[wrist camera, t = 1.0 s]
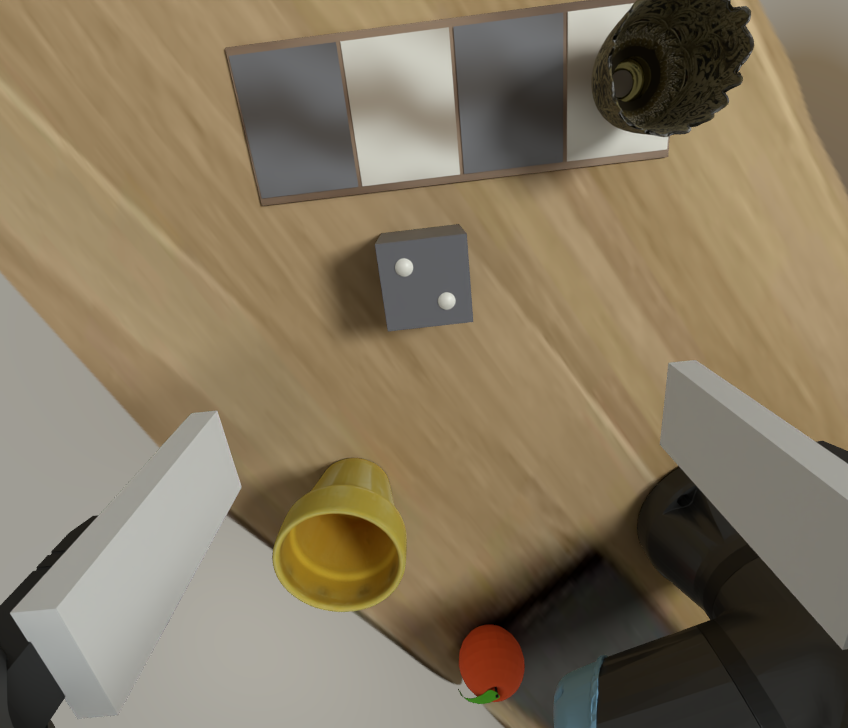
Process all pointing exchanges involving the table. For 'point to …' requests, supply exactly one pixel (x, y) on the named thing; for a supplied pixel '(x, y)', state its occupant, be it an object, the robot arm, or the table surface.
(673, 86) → the olive textured vase
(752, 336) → the table surface
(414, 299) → the die
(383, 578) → the plant pot
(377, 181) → the game board
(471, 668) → the clementine
